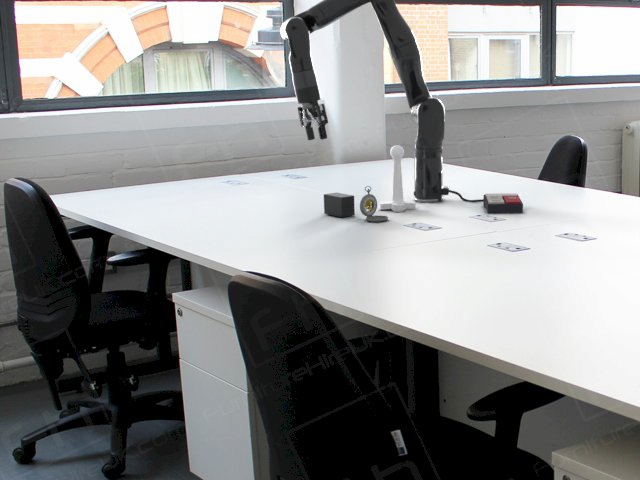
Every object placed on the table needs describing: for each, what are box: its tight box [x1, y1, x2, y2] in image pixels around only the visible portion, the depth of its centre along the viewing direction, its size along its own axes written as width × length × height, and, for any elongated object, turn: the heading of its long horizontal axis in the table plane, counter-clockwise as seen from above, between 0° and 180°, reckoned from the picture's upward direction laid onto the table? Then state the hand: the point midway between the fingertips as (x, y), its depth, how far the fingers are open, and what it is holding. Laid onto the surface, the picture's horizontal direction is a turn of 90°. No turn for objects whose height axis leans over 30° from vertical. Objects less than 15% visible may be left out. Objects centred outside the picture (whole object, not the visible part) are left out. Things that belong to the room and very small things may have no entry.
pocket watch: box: [359, 185, 389, 223], centre depth 316 cm, size 8×8×10 cm
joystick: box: [379, 144, 417, 213], centre depth 330 cm, size 11×8×20 cm
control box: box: [482, 192, 524, 215], centre depth 331 cm, size 11×4×15 cm
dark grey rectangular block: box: [323, 192, 356, 218], centre depth 325 cm, size 6×5×9 cm
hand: (317, 139), depth 328 cm, fingers open, 8 cm apart
